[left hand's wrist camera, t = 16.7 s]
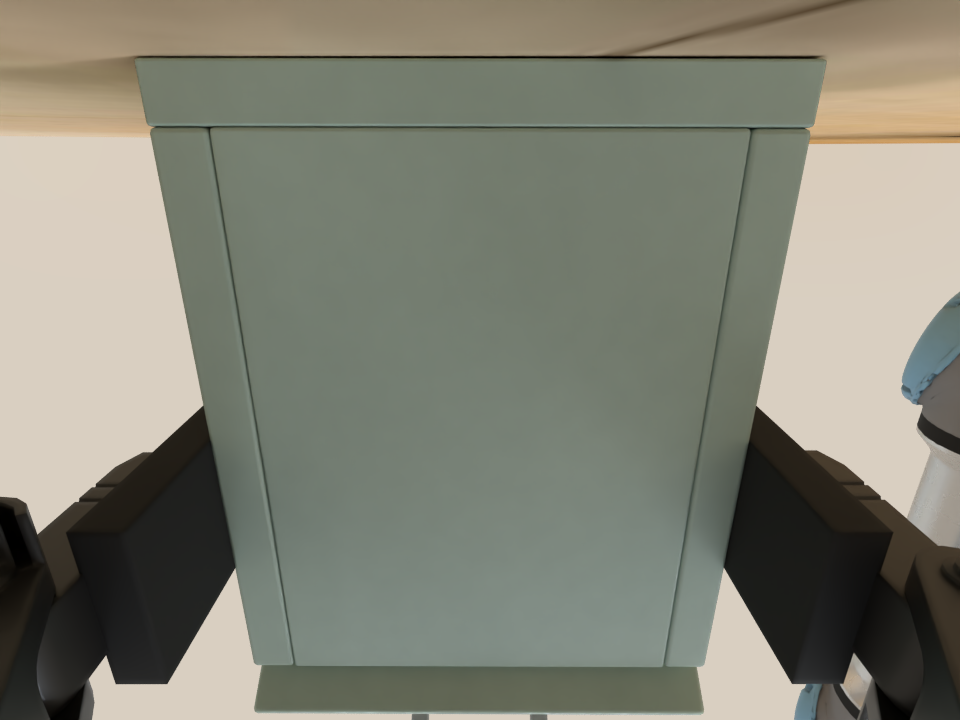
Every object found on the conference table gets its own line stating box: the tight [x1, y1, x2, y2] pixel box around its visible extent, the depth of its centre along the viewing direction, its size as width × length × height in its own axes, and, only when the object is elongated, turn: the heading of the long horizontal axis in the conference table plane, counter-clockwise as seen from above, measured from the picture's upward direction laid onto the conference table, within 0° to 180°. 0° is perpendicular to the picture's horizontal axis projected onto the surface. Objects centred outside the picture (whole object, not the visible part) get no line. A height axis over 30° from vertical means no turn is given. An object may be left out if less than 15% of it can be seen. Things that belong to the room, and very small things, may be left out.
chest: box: [135, 58, 826, 667], centre depth 17 cm, size 18×9×11 cm, turn 0°
